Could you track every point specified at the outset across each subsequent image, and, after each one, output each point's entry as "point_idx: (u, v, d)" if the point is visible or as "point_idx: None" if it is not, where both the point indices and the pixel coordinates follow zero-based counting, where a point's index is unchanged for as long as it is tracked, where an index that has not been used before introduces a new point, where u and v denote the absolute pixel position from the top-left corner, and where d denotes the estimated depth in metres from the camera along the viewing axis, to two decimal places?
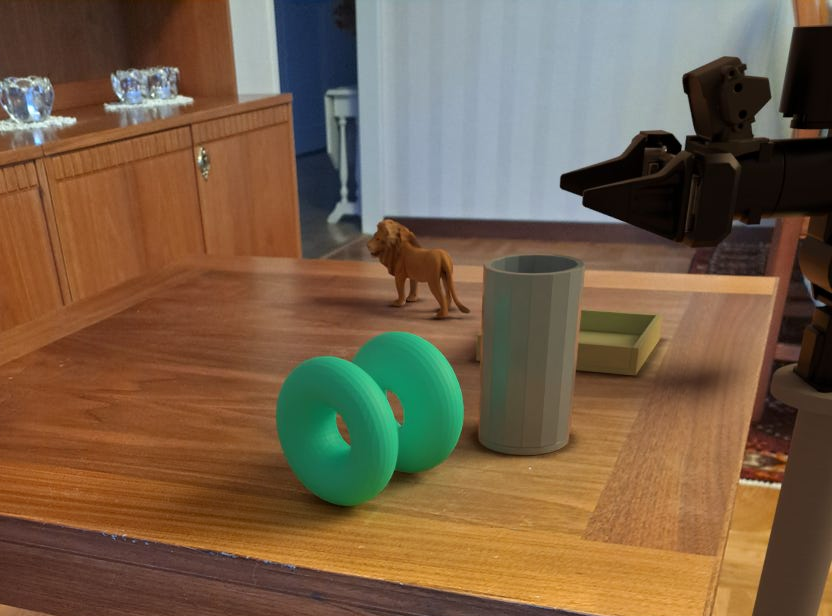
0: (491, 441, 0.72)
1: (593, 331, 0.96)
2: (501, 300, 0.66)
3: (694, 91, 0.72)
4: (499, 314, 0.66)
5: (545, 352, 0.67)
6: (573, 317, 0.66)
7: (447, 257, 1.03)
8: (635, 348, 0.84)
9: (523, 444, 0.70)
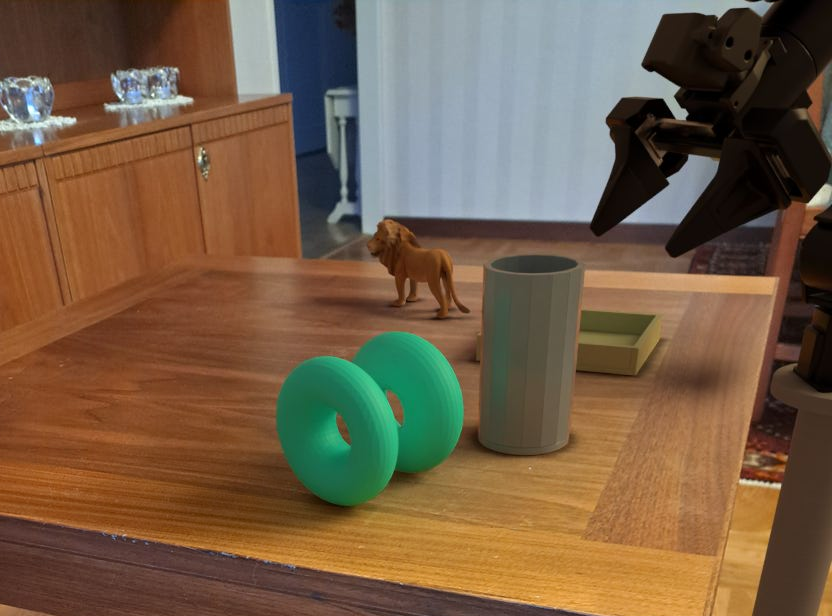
0: (491, 441, 0.72)
1: (593, 331, 0.96)
2: (501, 300, 0.66)
3: (666, 67, 0.64)
4: (499, 314, 0.66)
5: (545, 352, 0.67)
6: (573, 317, 0.66)
7: (447, 257, 1.03)
8: (635, 348, 0.84)
9: (523, 444, 0.70)
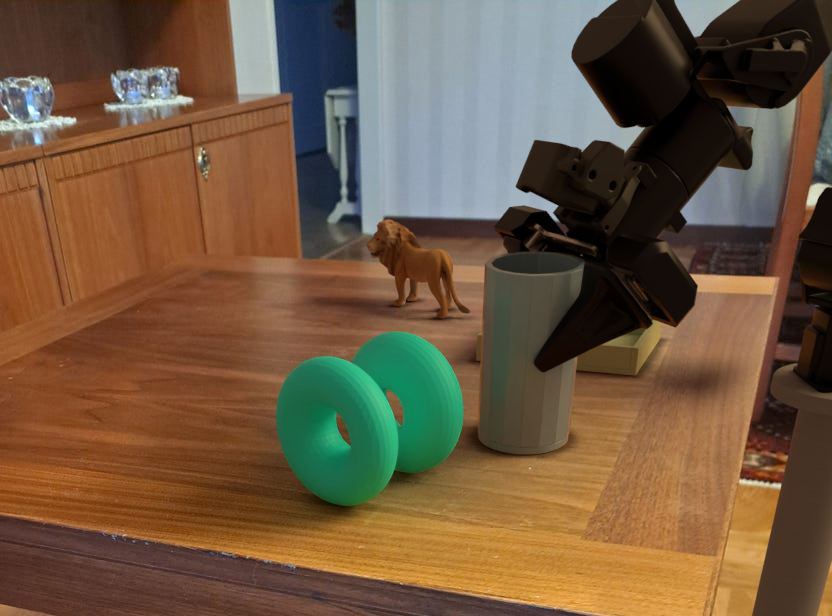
0: (490, 440, 0.72)
1: None
2: (501, 300, 0.66)
3: None
4: (499, 314, 0.66)
5: None
6: None
7: (447, 257, 1.03)
8: (635, 348, 0.84)
9: (522, 443, 0.71)
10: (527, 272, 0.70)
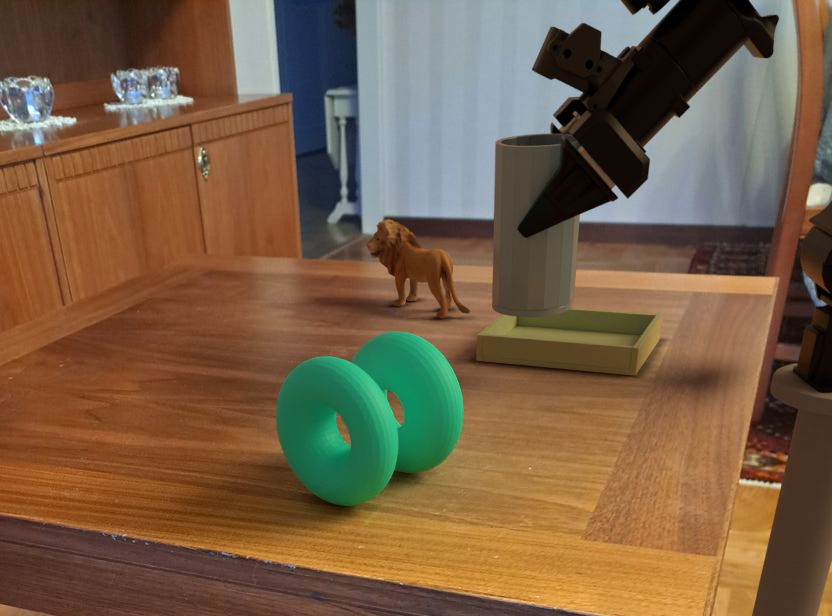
0: (493, 302, 0.82)
1: (593, 331, 0.96)
2: (498, 170, 0.76)
3: None
4: (497, 183, 0.76)
5: None
6: None
7: (447, 257, 1.03)
8: (635, 348, 0.84)
9: (512, 306, 0.80)
10: None
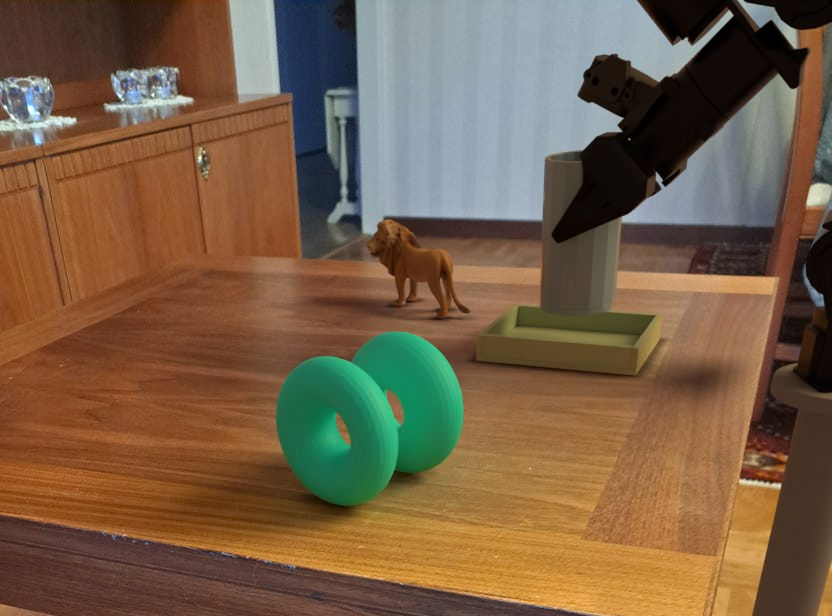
0: None
1: (593, 331, 0.96)
2: (544, 181, 0.85)
3: None
4: (543, 192, 0.85)
5: None
6: None
7: (447, 257, 1.03)
8: (635, 348, 0.84)
9: (549, 303, 0.89)
10: None
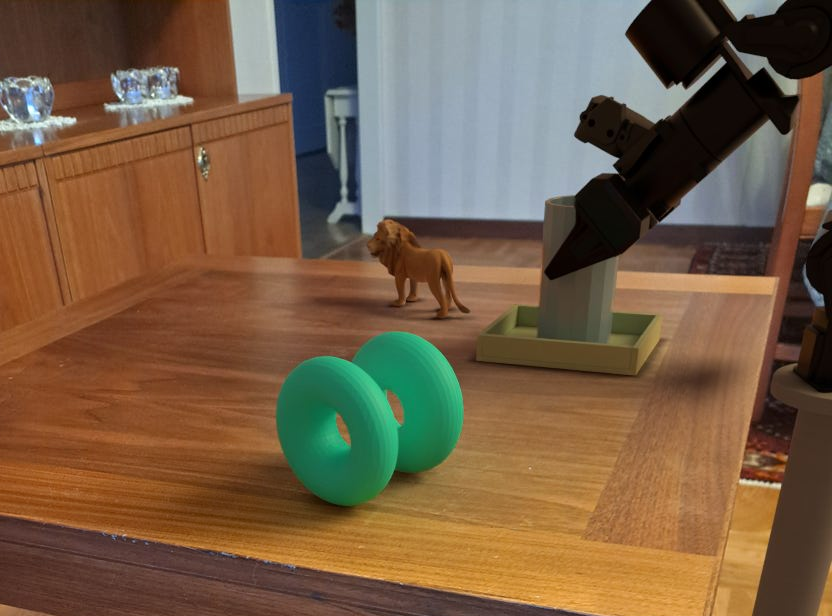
0: (536, 337, 0.93)
1: None
2: (544, 223, 0.87)
3: None
4: (543, 234, 0.88)
5: None
6: None
7: (447, 257, 1.03)
8: (635, 348, 0.84)
9: None
10: None
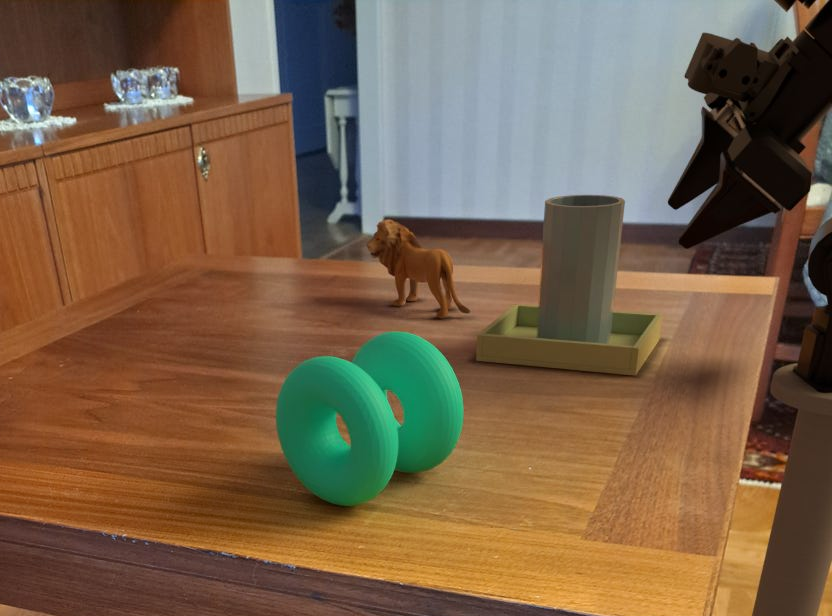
0: (536, 337, 0.93)
1: None
2: (544, 223, 0.87)
3: None
4: (543, 234, 0.88)
5: (560, 269, 0.86)
6: (588, 246, 0.84)
7: (447, 257, 1.03)
8: (635, 348, 0.84)
9: None
10: None
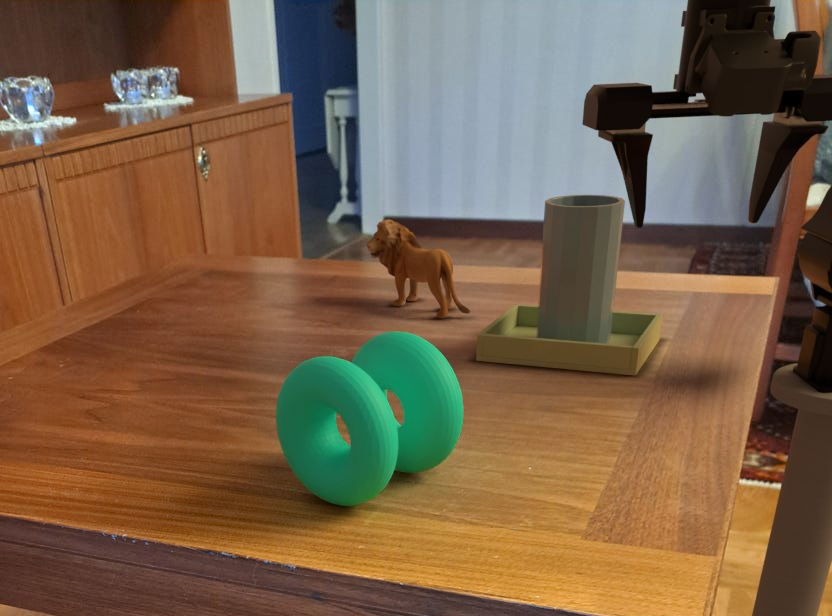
0: (536, 337, 0.93)
1: None
2: (544, 223, 0.87)
3: None
4: (543, 234, 0.88)
5: (560, 269, 0.86)
6: (588, 246, 0.84)
7: (447, 257, 1.03)
8: (635, 348, 0.84)
9: None
10: None
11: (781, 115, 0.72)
